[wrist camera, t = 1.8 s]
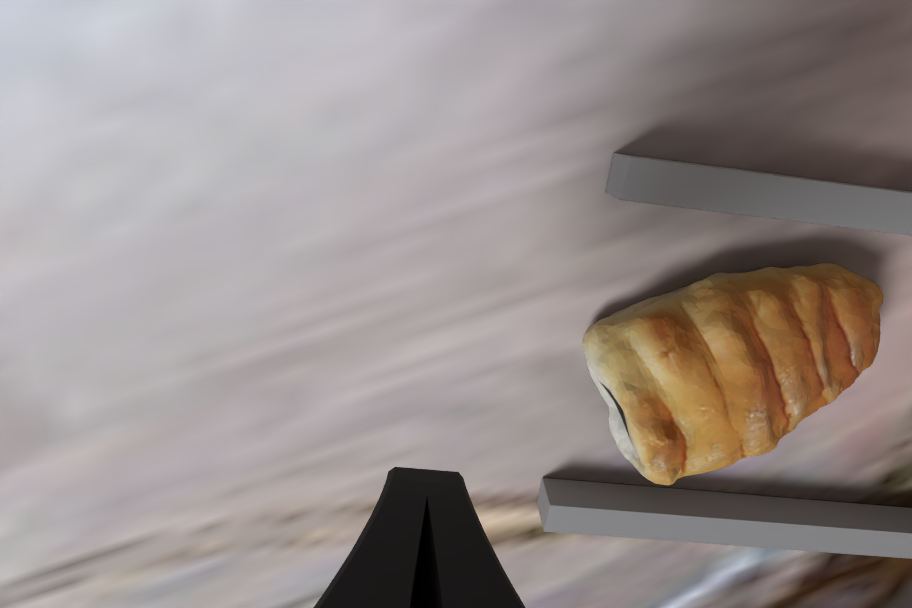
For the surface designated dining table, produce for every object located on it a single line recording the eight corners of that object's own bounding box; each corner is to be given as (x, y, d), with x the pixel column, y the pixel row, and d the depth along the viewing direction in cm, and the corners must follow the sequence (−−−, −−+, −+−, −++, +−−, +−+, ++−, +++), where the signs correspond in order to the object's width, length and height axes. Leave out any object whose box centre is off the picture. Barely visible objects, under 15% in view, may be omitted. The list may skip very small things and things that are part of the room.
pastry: (825, 203, 17) (927, 229, 14) (862, 366, 19) (959, 426, 16) (560, 323, 18) (590, 376, 15) (624, 464, 21) (664, 540, 17)
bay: (1056, 543, 22) (1145, 605, 19) (536, 502, 21) (552, 564, 18) (1261, 236, 18) (1417, 260, 15) (613, 152, 16) (651, 162, 13)
